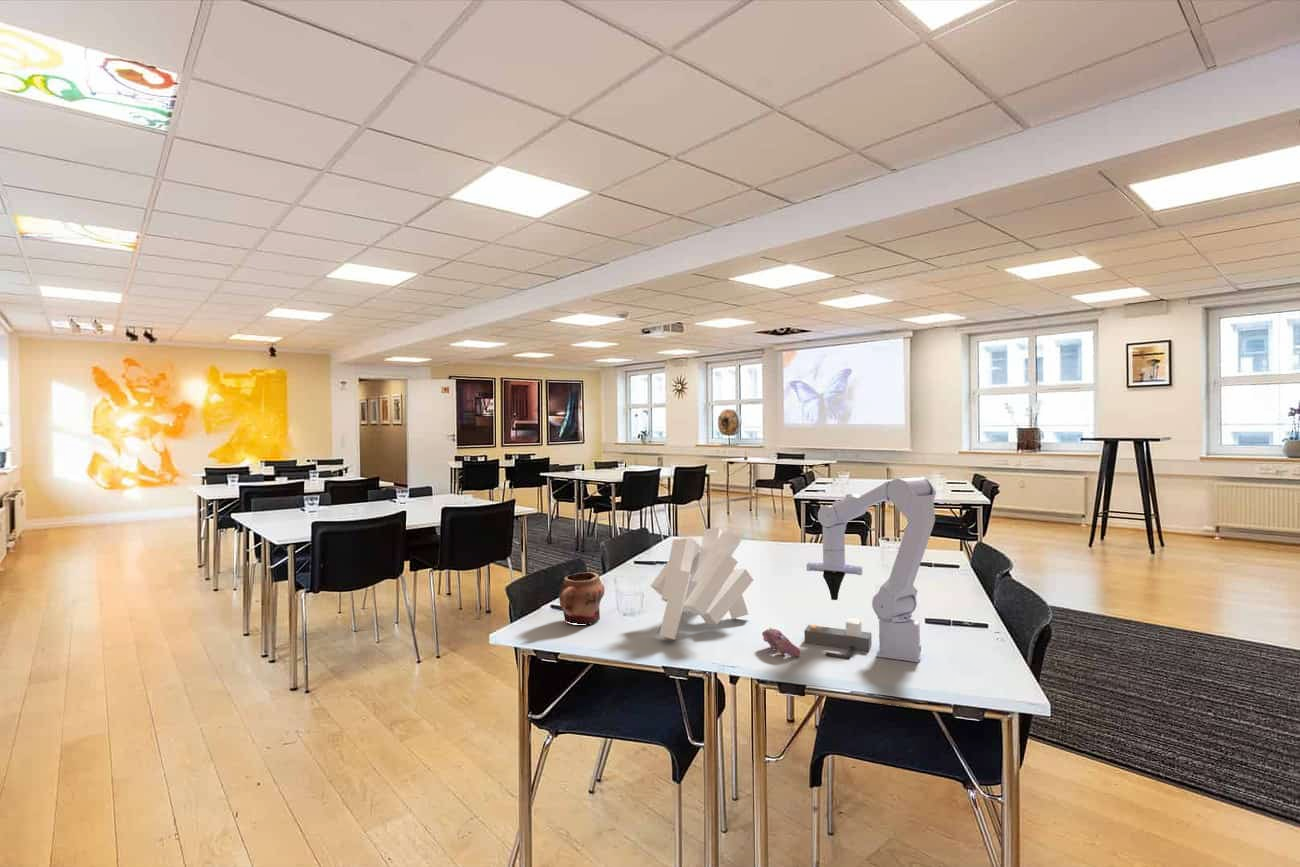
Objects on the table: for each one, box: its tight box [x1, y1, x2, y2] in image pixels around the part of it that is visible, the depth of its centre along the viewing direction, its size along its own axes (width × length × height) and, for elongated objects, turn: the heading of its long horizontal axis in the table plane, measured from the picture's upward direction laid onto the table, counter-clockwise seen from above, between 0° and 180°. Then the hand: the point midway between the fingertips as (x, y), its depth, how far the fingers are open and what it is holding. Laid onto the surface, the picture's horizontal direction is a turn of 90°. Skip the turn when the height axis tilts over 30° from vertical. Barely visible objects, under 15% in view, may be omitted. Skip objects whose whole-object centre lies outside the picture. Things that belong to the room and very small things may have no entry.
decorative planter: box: [558, 571, 605, 625], centre depth 180 cm, size 20×12×14 cm, turn 160°
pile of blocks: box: [650, 527, 754, 640], centre depth 178 cm, size 35×30×35 cm
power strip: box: [803, 617, 873, 660], centre depth 156 cm, size 16×12×6 cm
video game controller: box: [761, 627, 801, 658], centre depth 154 cm, size 10×5×7 cm, turn 21°
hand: (834, 599), depth 167 cm, fingers closed
